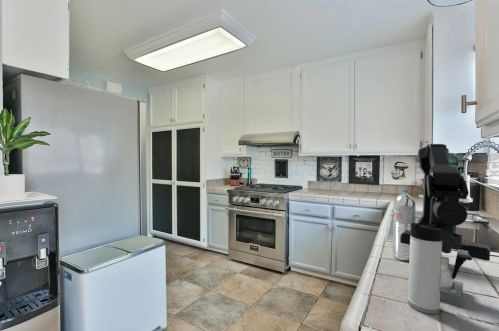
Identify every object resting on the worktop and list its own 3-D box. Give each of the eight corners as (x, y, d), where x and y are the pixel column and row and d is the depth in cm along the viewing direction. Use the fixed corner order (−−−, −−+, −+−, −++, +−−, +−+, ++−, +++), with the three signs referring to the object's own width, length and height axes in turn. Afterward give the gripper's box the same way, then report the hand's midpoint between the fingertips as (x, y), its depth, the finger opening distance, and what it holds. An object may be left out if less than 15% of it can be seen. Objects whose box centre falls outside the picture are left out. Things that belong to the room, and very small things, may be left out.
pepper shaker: (427, 288, 70) (428, 254, 70) (439, 287, 71) (440, 253, 71) (441, 296, 66) (442, 259, 66) (453, 294, 67) (454, 259, 67)
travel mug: (400, 300, 64) (403, 220, 64) (425, 299, 64) (428, 220, 64) (418, 315, 58) (422, 227, 57) (446, 314, 58) (449, 227, 58)
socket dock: (422, 280, 75) (423, 271, 75) (462, 291, 69) (463, 281, 69) (416, 293, 68) (416, 282, 68) (460, 306, 61) (461, 294, 61)
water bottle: (416, 263, 88) (417, 191, 88) (393, 259, 91) (395, 189, 91) (412, 256, 95) (414, 189, 95) (391, 253, 97) (393, 188, 97)
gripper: (396, 216, 69) (394, 273, 69) (491, 230, 56) (488, 300, 56) (405, 211, 77) (403, 262, 77) (490, 222, 64) (487, 283, 65)
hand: (440, 275), depth 69 cm, fingers closed on pepper shaker, 5 cm apart
